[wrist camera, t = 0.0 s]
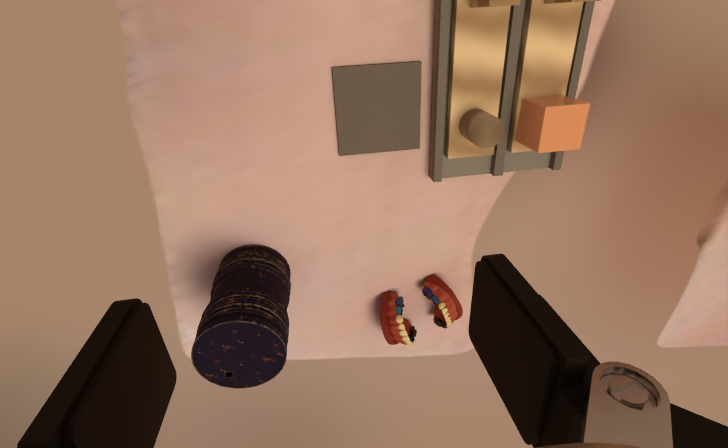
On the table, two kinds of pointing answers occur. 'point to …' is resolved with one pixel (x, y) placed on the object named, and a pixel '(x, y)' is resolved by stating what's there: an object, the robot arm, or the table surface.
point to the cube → (552, 123)
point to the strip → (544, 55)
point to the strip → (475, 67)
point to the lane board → (501, 156)
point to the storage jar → (245, 320)
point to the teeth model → (402, 329)
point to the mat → (377, 107)
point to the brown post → (481, 128)
